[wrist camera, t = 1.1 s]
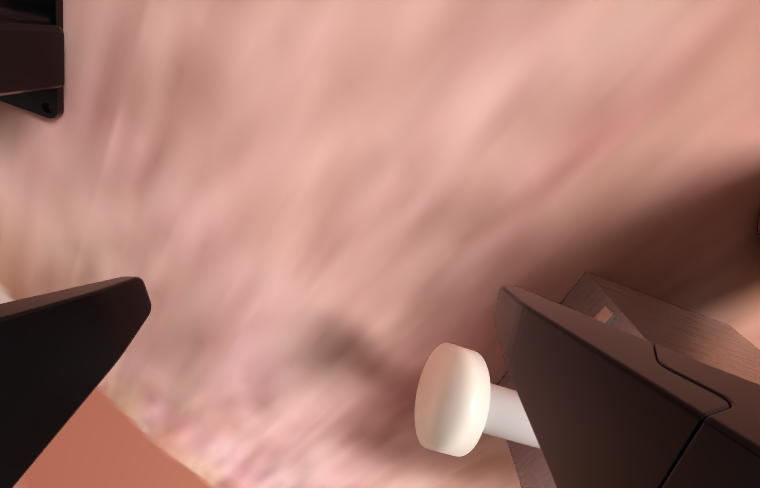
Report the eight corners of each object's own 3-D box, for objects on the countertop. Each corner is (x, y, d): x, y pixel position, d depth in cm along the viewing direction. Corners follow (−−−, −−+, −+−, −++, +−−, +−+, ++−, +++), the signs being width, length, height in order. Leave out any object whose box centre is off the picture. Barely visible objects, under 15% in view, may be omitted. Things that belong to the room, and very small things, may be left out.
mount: (489, 391, 29) (550, 589, 19) (583, 270, 24) (743, 452, 13) (617, 429, 31) (737, 626, 21) (730, 326, 26) (970, 522, 15)
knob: (411, 384, 22) (418, 471, 17) (450, 322, 19) (470, 404, 15) (603, 440, 24) (652, 529, 20) (657, 390, 22) (726, 478, 17)
